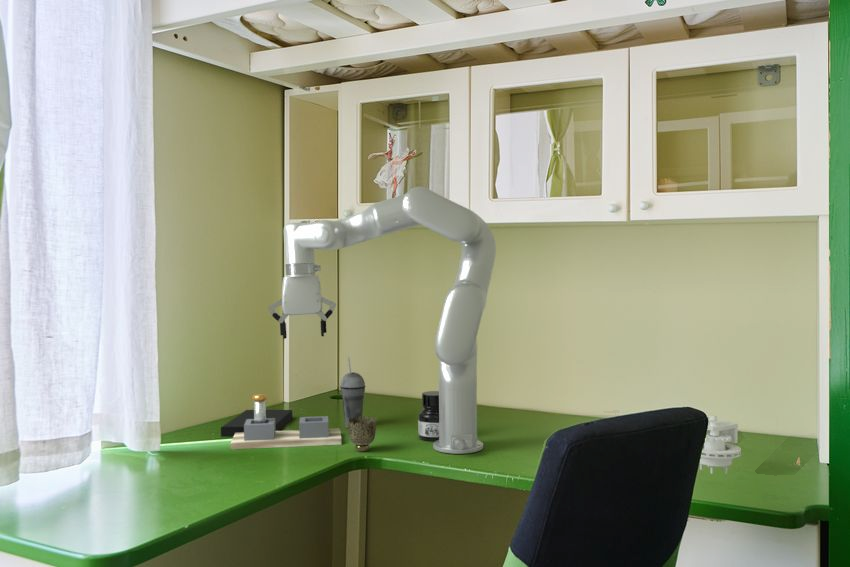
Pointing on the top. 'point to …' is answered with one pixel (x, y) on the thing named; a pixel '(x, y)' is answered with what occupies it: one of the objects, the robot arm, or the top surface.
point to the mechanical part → (720, 444)
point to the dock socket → (259, 430)
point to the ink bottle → (429, 416)
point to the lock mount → (313, 427)
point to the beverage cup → (352, 395)
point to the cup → (362, 432)
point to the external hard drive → (238, 422)
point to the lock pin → (259, 408)
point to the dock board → (286, 440)
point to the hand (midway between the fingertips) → (303, 337)
